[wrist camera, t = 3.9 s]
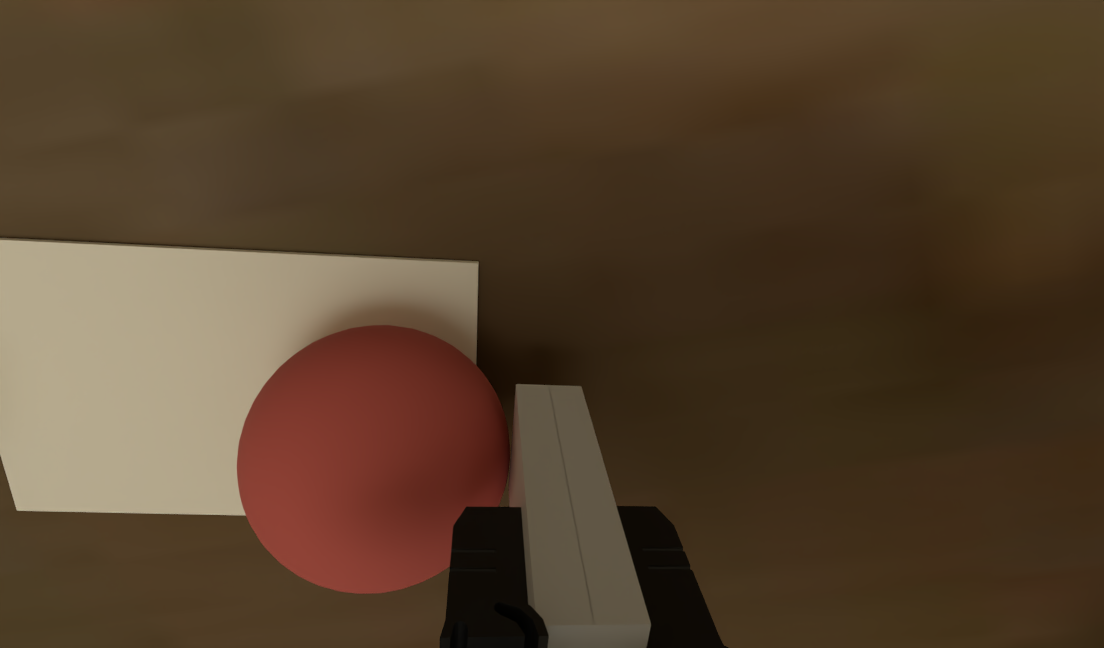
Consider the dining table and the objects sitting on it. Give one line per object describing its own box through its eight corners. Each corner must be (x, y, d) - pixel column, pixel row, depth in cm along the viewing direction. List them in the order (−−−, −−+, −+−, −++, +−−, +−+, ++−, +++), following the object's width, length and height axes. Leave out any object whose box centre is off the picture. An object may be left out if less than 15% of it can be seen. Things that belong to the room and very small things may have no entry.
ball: (572, 343, 14) (315, 431, 9) (553, 562, 16) (334, 717, 11) (411, 280, 17) (175, 323, 13) (412, 463, 19) (208, 552, 15)
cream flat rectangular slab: (478, 261, 16) (478, 263, 16) (472, 515, 19) (472, 520, 19) (-57, 234, 15) (-65, 236, 15) (21, 506, 18) (17, 510, 18)
